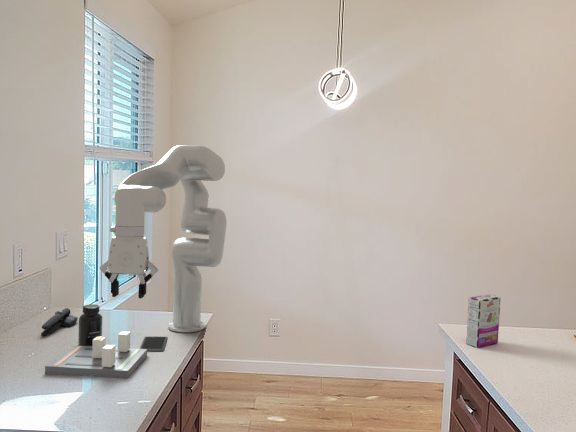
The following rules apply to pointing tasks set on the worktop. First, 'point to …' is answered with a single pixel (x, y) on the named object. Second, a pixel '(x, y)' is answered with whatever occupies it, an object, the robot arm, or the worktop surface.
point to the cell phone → (154, 344)
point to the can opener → (58, 321)
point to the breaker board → (95, 363)
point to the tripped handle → (98, 346)
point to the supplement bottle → (89, 325)
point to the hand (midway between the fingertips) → (128, 296)
